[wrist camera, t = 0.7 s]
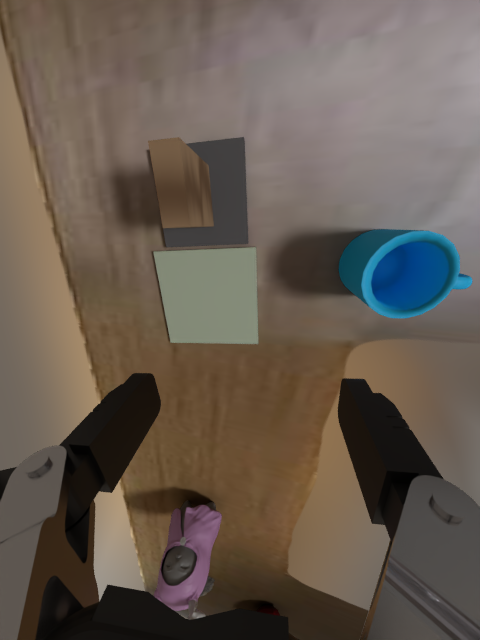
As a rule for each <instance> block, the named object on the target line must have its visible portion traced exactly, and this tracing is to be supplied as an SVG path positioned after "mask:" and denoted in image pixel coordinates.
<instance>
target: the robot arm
mask: <svg viewBox="0 0 480 640" xmlns="http://www.w3.org/2000/svg"><path fill="white" fill-rule="evenodd" d="M160 407H161V400H160V396H159V393H158V389H157V385H156V382H155V378H154V376H153V374H151V373H134V374H132V375H131V376H130V377H129V378H128V379H127V381H126V382H125V383H124V384H121V385H120V386H118V387H117V388H115V389H114V390H112V391H111V392H109V393H108V395H107V396H106V397H105V398H104V399H103V400H102V401H101V403H100V404H98V405H97V406H96V407H95V408H94V409H93V412H90V413H89V415H88V416H87V417H86V418H85V419H84V420H83V421H82V422H81V423H80V424H79V425H78V426H77V427H76V428H75V429H74V430H73V431H72V433H71V434H70V435H69V436H68V437H67V438H66V439H65V440H64V441H63V442H62V443H61V444H60V445H59V446H51V447H47V448H44V449H42V450H40V451H38V452H36V453H34V454H33V455H31V456H29V457H28V458H27V459H25V460H24V461H23V462H22V463H21V464H20V465H19V466H18V467H15V468H10V469H6V470H2V471H0V640H299V639H298V638H296V637H295V636H293V635H292V634H290V633H289V631H288V617H283V616H278V615H272V614H267V613H261V612H256V611H250V610H245V609H235V610H231V611H227V612H222V613H218V614H214V615H209V616H205V617H201V618H197V619H191V620H189V619H185V618H183V617H182V616H181V615H179V614H178V613H176V612H175V611H174V610H172V609H171V608H169V607H168V606H167V605H165V604H164V603H163V602H161V601H160V600H158V599H157V598H156V597H154V596H153V595H151V594H150V593H149V592H145V591H139V590H134V589H129V588H123V587H117V586H112V585H107V588H106V589H105V591H104V594H103V596H102V598H101V600H100V602H99V595H98V588H97V583H96V579H95V575H94V566H93V563H94V529H95V527H94V526H95V503H94V498H95V496H96V494H97V493H98V492H99V491H101V492H110V493H112V492H113V490H114V488H115V487H116V485H117V483H118V482H119V480H120V478H121V477H122V475H123V473H124V472H125V470H126V468H127V466H128V465H129V463H130V461H131V460H132V458H133V456H134V455H135V453H136V451H137V450H138V448H139V446H140V444H141V443H142V441H143V439H144V438H145V436H146V434H147V433H148V431H149V429H150V427H151V426H152V424H153V422H154V421H155V419H156V417H157V416H158V414H159V411H160ZM338 418H339V423H340V427H341V430H342V433H343V436H344V439H345V442H346V445H347V448H348V451H349V454H350V458H351V461H352V463H353V467H354V470H355V472H356V476H357V479H358V482H359V485H360V488H361V491H362V494H363V497H364V500H365V503H366V507H367V510H368V513H369V516H370V519H371V522H372V524H381V525H382V524H383V525H385V526H386V529H387V531H388V534H389V537H390V539H391V540H390V542H389V546H388V549H387V552H386V555H385V559H384V562H383V565H382V569H381V572H380V575H379V579H378V582H377V585H376V589H375V592H374V595H373V599H372V602H371V605H370V609H369V612H368V615H367V618H366V622H365V625H364V628H363V631H362V634H361V637H360V640H480V507H479V506H478V505H477V503H476V502H475V501H474V500H473V499H472V498H471V497H470V496H469V495H467V494H466V493H465V492H464V491H463V490H461V489H460V488H458V487H457V486H455V485H453V484H452V483H450V482H448V481H446V480H444V479H443V477H442V476H441V475H440V473H439V472H438V470H437V469H436V467H435V466H434V464H433V462H432V461H431V460H430V458H429V456H428V455H427V454H426V452H425V450H424V449H423V447H422V446H421V444H420V443H419V442H418V440H417V438H416V437H415V435H414V434H413V432H412V431H411V430H410V429H409V426H408V425H407V423H406V421H405V420H404V419H402V415H401V414H400V412H399V411H398V409H397V408H396V406H395V405H394V404H393V403H392V402H391V401H390V400H388V399H387V398H386V397H385V396H384V395H382V394H381V393H373V392H372V391H371V389H370V387H369V385H368V384H367V382H366V381H365V380H364V379H344V378H343V379H342V382H341V389H340V396H339V404H338Z"/></svg>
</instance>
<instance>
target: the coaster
mask: <svg viewBox="0 0 480 640" xmlns="http://www.w3.org/2000/svg"><path fill="white" fill-rule="evenodd" d="M186 145H187V146H189V147H190V148H191V149H192V150H193V151H194V152H195V153H196V154H197V155H198V156H199V157H200V158H201V159H202V160H203V161H204V162H205V163H207V164H208V165H209V177H210V188H211V199H212V210H213V222H214V226H212V227H194V228H163V231H164V237H165V243H166V247H185V246H207V245H228V244H248V225H247V197H246V170H245V142H244V137H242V138H233V139H224V140H215V141H206V142H197V143H189V144H186Z"/></svg>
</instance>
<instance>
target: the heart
mask: <svg viewBox="0 0 480 640" xmlns="http://www.w3.org/2000/svg"><path fill="white" fill-rule="evenodd" d="M256 612H261V613H267V614H272V615H278V616H280V615H279V612H278V610H277V609H276V608H274V607H272V606H271V605H263V606H261V607H260V608H259V609H258V610H257V611H256Z"/></svg>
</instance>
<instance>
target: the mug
mask: <svg viewBox="0 0 480 640" xmlns="http://www.w3.org/2000/svg"><path fill="white" fill-rule="evenodd" d="M459 272H460V257H459V254H458V252H457V250H456V248H455V246H454V244H453V243H452V242H451V241H449V240H448V239H447V238H446V237H445V236H443V235H441V234H437V233H434V232H431V231H419V230H390V229H380V230H371V231H368V232H365V233H363V234H361V235H359V236H358V237H356V238H355V239H354V240H352V241H351V242H350V244H349V245H348V246H347V247H346V248H345V249H344V252H343V254H342V256H341V258H340V262H339V274H340V279H341V281H342V282H343V284H344V285H345V287H346V288H348V289H349V290H350V291H351V292H352V293H353V294H355V295H356V296H357V297H358V298H359V299H361V300H362V301H363V302H364V303H365V304H367V305H368V306H369V307H370V308H372V309H373V310H374V311H376V312H377V313H378V314H380V315H383V316H386V317H390V318H409V317H413V316H417V315H421V314H423V313H425V312H427V311H428V310H430V309H432V308H434V307H435V306H437V305H438V304H439V303H440V302H441V301H442V300H444V299H445V298H446V297H447V295H448V294H449V293H450V291H451V290H452V289H466V288H468V287H469V286H470V285H471V284H472V278H471V277H470V276H467V275H464V274H460V273H459Z"/></svg>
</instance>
